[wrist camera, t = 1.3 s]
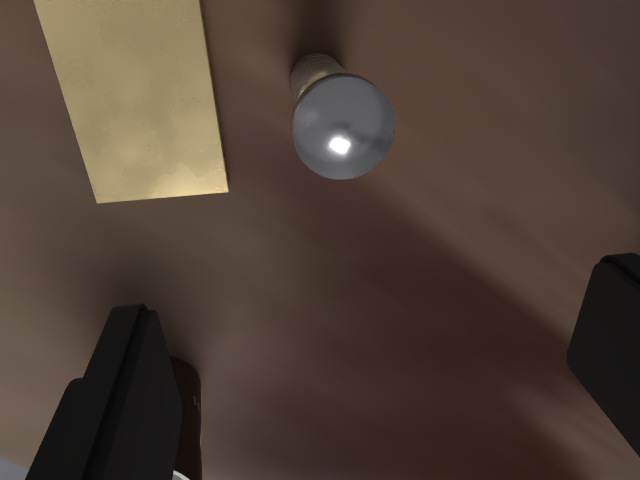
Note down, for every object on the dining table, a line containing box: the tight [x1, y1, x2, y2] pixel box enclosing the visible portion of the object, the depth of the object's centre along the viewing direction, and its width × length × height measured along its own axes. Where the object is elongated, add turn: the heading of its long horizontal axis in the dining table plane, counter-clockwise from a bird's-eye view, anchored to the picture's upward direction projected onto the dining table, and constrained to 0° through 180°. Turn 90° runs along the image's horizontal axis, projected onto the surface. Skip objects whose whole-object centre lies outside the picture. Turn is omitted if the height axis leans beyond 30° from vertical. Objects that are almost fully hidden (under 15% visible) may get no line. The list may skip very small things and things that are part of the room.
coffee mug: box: [169, 357, 202, 480], centre depth 34 cm, size 12×9×10 cm
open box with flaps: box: [34, 0, 229, 203], centre depth 24 cm, size 14×19×3 cm
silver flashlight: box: [290, 53, 395, 179], centre depth 23 cm, size 4×4×10 cm
